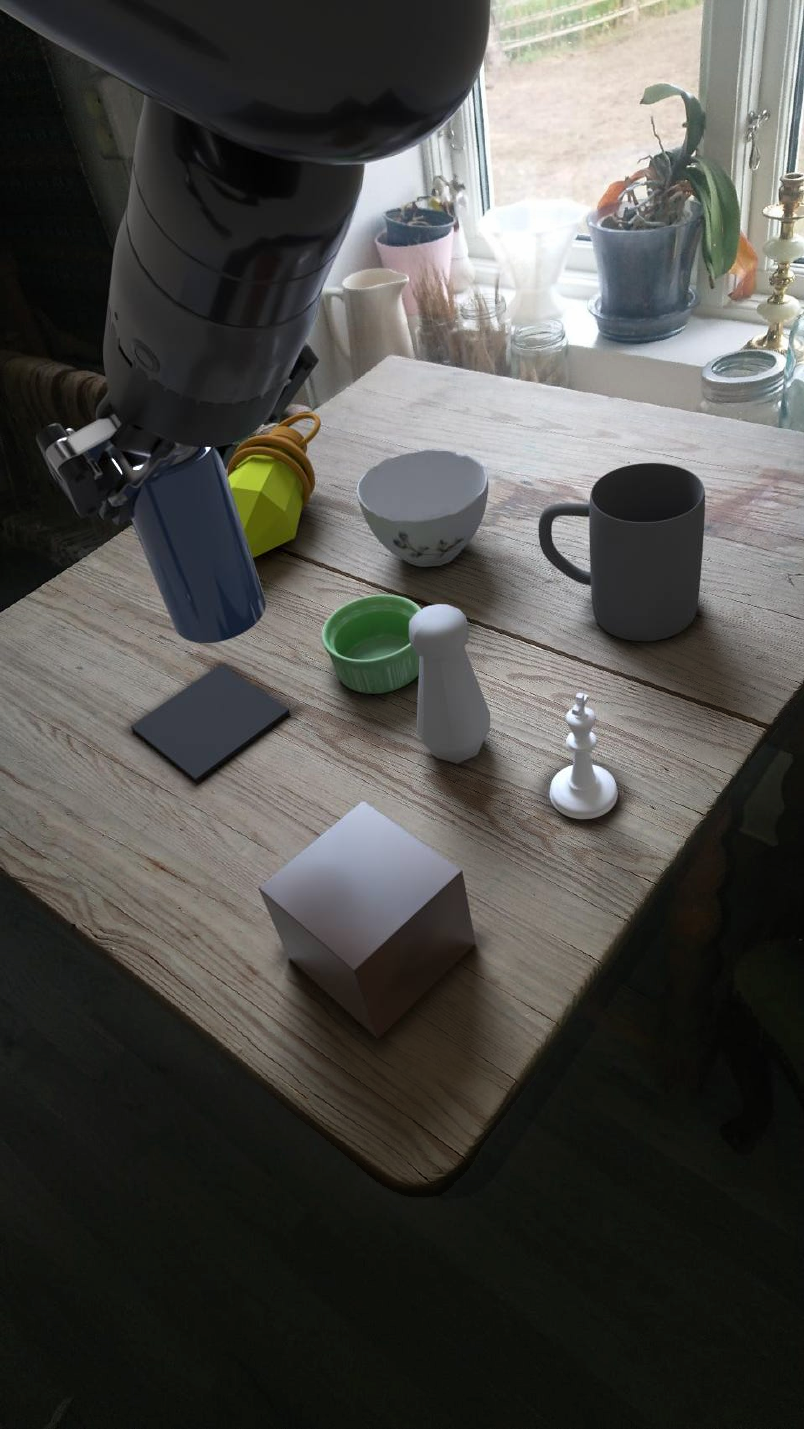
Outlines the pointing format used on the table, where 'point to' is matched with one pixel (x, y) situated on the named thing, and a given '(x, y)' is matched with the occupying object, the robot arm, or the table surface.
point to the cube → (371, 915)
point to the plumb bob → (272, 483)
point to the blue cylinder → (199, 548)
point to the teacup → (425, 504)
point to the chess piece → (582, 771)
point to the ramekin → (372, 643)
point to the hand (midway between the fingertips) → (161, 482)
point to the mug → (639, 549)
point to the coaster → (209, 721)
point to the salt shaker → (447, 685)
